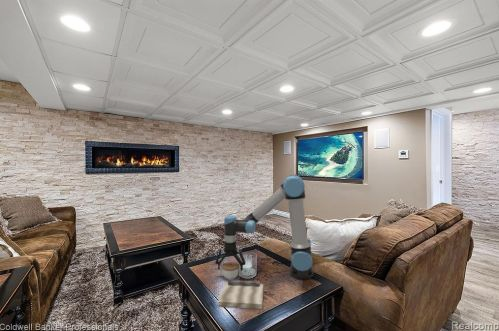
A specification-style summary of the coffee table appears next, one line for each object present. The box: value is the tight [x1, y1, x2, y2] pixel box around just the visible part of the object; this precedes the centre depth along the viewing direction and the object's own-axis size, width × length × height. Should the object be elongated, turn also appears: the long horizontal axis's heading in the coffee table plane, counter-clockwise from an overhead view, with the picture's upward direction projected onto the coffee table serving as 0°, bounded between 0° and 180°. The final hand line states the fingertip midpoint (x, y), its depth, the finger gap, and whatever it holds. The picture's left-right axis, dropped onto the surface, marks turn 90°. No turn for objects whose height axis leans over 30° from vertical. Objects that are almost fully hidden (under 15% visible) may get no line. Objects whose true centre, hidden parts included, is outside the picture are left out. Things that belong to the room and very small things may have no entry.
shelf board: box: [217, 279, 264, 310], centre depth 120 cm, size 22×18×4 cm
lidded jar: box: [222, 261, 240, 280], centre depth 141 cm, size 11×11×9 cm
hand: (230, 275), depth 141 cm, fingers open, 12 cm apart
